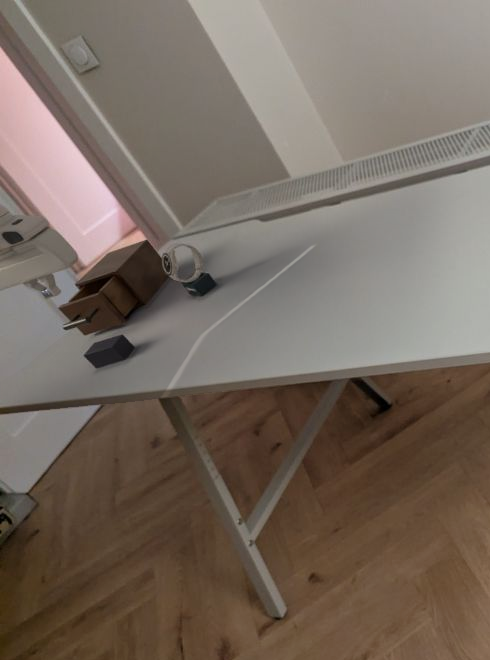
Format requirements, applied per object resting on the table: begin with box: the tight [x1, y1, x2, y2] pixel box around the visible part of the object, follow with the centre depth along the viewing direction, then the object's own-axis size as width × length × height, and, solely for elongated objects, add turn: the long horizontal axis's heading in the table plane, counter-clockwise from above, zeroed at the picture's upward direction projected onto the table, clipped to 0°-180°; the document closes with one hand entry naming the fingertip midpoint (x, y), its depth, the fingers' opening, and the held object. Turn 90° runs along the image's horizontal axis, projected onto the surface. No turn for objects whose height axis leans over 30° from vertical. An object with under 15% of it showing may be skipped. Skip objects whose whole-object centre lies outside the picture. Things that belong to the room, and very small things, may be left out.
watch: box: [161, 243, 218, 297], centre depth 116 cm, size 6×8×11 cm
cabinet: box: [74, 239, 170, 310], centre depth 128 cm, size 15×12×10 cm
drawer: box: [57, 274, 139, 336], centre depth 119 cm, size 18×10×8 cm, turn 0°
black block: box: [83, 333, 135, 369], centre depth 106 cm, size 7×4×4 cm, turn 90°
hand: (53, 295), depth 109 cm, fingers closed
